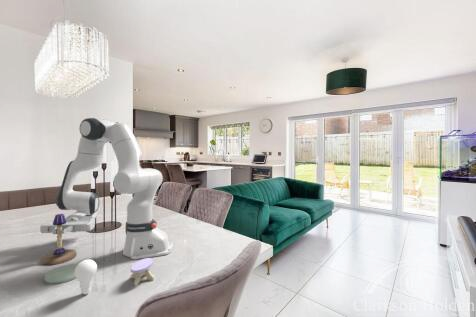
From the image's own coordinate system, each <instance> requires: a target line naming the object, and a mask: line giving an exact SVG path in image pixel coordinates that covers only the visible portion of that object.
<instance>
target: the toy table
mask: <svg viewBox="0 0 476 317" xmlns="http://www.w3.org/2000/svg"><path fill="white" fill-rule="evenodd" d="M153 265H154V259H153V258H152V257H147V258H141V259H140V260H137V261H136V262H134V263H133V264H132V265H131V267H130V272H131V273H132V274H131V275H130V279H134V281H133V282H134V283H133V285H134V286H138V285H139V284H140V283H141V280H142V276H143V275H144V276H145V277H146V280H147V281H154V280H155V275H154V274H153V273H152V272H151V270H150V268H151V267H152V266H153Z"/></svg>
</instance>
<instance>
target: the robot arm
mask: <svg viewBox="0 0 476 317" xmlns="http://www.w3.org/2000/svg"><path fill="white" fill-rule="evenodd" d="M79 133H80V135H81V136H80V140H79V142H78V147H77V152H76V153H77V154H76V156H75V158H74V159H73V160H71V161H70V162H69V163H68V166H67V167H66V170H65V172H64V176H63V179H62V182H61V186H60V189H59V190H58V193H57V196H56V197H55V198H56V199H55V205H56V206H57V207H58V209H59V210H61V211H71V210H72V211H76V212H74V213H72V214H70V215H67V216H65V219H66V223H65V224H62V230H61V234H62V235H64V234H66V233H77V232H78V233H79V232H90V231H92V230H94V229H95V225H96V218H97V215H98V209H99V206H100V198H99V196H98V195H97V193H95V192H89V191H88V192H87V191H79V190H78V191H76V190H74V189H73V188H74V185H75V181H76V178H77V175H78V174H80V173H81V172H82V173H83V172H86V171H91V170H95V169H96V168H98V167H99V166H100V165H101V164H102V162H103V157H104V147H105V145H106V144H107V143H109V144H110V145H111V147H112V149H113V151H114V154H115V157H116V159H117V163H118V164H117V165H118V168H117V169H118V170H117V173H116V174H115V175H114V178H113V180H112V181H113V182H112V183H113V184H112V185H113V188H114V189H115V190H116V192H118V194H121V195H122V194H124V195H133V197H132V198H131V200H130V201H129V203H128V204H127V206H126V221H125V242H124V247H123V250H122V254H123V256H125V257H127V258H130V259H131V260H137V259H140V260H141V259H145V258H153V257H159V256H166V255H169V254H171V252H172V251H173V250H174V244H173V242H172V241H169V236H168V234H167V233H166V232H165V231H164V230H161V229H160V228H158V227H157V220H156V219H155V220H154V219H153V205H154V199H155V196H156V193H157V191H158V189H159V187H160V186H161V185H162V184H163V183H162V182H163V180H164V178H163V177H164V176H163V174H162V172H161V171H160V170H158V169H156V168H151V167H148V168H147V167H146V168H145V167H144V168H142V167H141V165H140V160H141V159H142V158H143V152H142V150H141V147H140V145H139V143H138V140H137V138H136V137H135V135H134V133H133V131H132V129H131V128H130V126H129V125H128V124H126V123H124V122H119V121H118V122H117V121H116V122H115V121H112V120H108V119H101V118H95V117H90V118H89V117H88V118H85V119H83V120H81V122H80V124H79ZM53 221H54V220H51V221H48V222H46V223H43V224H41V225H40V227H39V228H40V229H39V232H40V233H41V234H52V235H57V225H53Z"/></svg>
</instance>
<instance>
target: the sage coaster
mask: <svg viewBox="0 0 476 317" xmlns="http://www.w3.org/2000/svg"><path fill="white" fill-rule="evenodd" d="M78 264H79V263H68V264H64V265H62V266H59V267H55V268H53V269H51V270H50V271H48V272H47V273H46V274H45V275H44V282H45V284H46V283H47V284H51V285H57V284H63V283H67V282H70V281H73V280H75V279H77V278H76V276H75V274H74V272H75V268H76V266H77V265H78Z"/></svg>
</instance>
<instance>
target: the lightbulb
mask: <svg viewBox="0 0 476 317" xmlns="http://www.w3.org/2000/svg"><path fill="white" fill-rule="evenodd" d="M77 264H78V265H77V266H76V268H75V272H74V274H75V276H76V278H75V279H77V281H78V283H79V288H80V292H81V294H82V295H87V294H88V295H89V293H90V292H91V291H92V284H93V279H94V276H95V275H96V274H97V271H98V264H97V263H96V262H95V261H94V260H93V259H84V260H81V261H80V262H79V263H77Z"/></svg>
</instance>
